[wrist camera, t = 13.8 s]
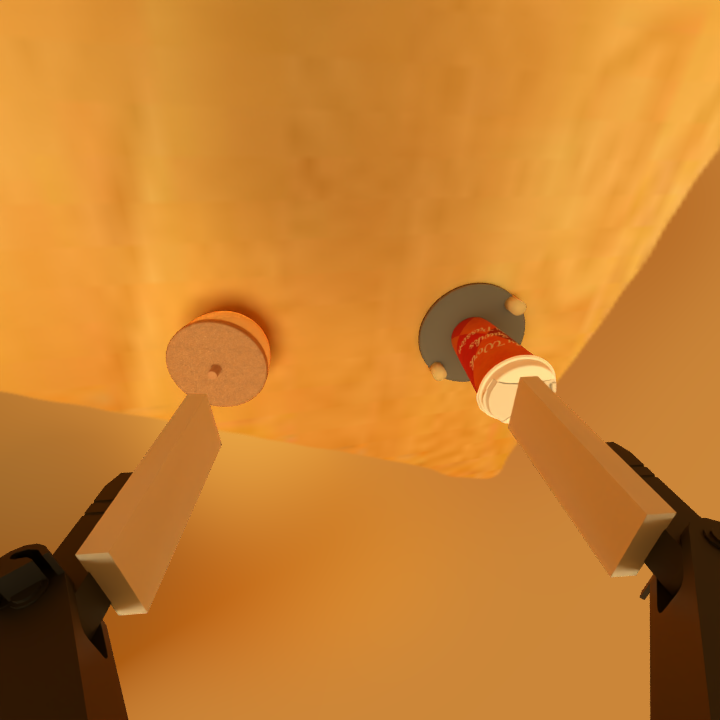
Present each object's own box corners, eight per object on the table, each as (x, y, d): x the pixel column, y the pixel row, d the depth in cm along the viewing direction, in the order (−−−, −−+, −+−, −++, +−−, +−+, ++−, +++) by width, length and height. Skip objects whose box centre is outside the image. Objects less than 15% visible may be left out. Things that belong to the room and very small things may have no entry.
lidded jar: (185, 296, 40) (146, 326, 32) (275, 300, 41) (260, 330, 33) (200, 372, 45) (169, 415, 37) (280, 374, 46) (267, 417, 38)
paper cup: (497, 301, 42) (562, 351, 30) (503, 352, 46) (563, 416, 33) (436, 319, 43) (476, 375, 30) (447, 368, 46) (486, 436, 34)
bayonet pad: (421, 285, 41) (427, 292, 39) (532, 280, 42) (544, 287, 39) (415, 381, 48) (420, 392, 46) (511, 376, 48) (520, 386, 46)
